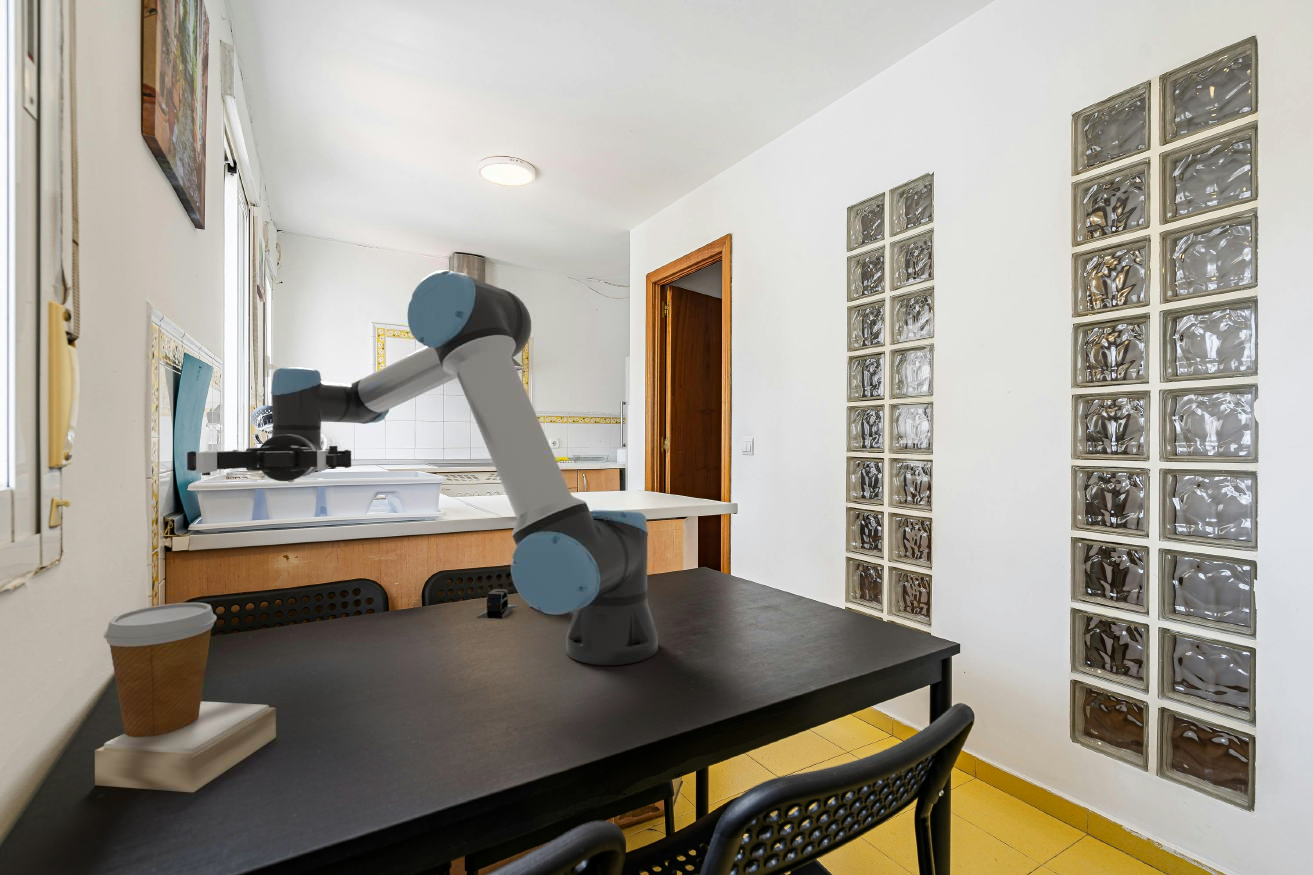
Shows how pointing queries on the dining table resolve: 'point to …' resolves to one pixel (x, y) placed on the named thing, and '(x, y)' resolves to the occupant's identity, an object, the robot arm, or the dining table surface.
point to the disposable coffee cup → (160, 665)
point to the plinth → (187, 749)
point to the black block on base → (497, 604)
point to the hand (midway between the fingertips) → (262, 461)
